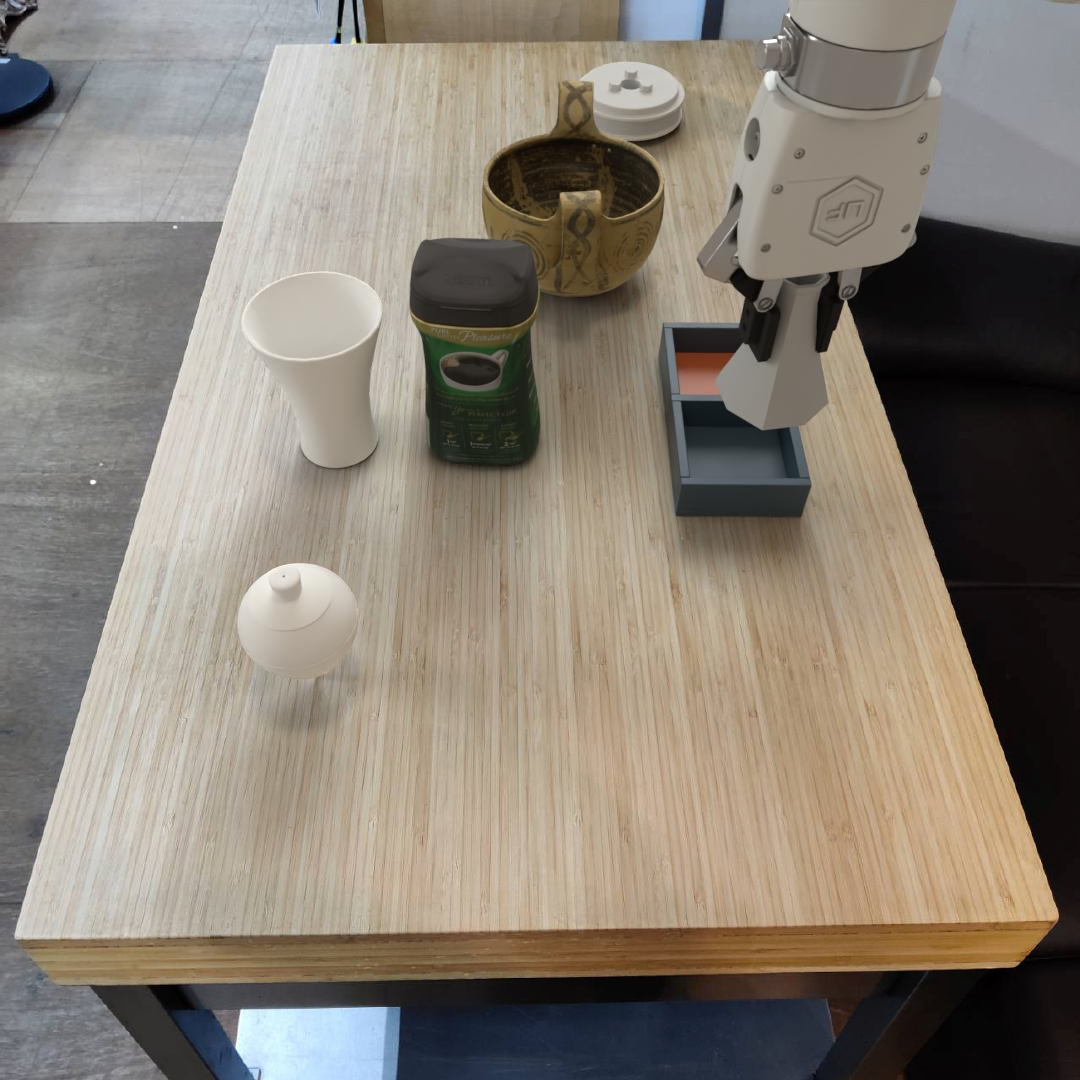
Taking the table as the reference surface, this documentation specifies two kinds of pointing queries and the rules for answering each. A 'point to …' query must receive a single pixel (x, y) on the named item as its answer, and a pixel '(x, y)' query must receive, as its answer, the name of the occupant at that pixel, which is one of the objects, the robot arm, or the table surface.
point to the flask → (781, 365)
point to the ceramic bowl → (576, 200)
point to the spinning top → (298, 621)
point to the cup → (321, 358)
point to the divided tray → (722, 434)
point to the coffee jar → (477, 348)
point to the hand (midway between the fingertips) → (784, 341)
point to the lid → (635, 100)
